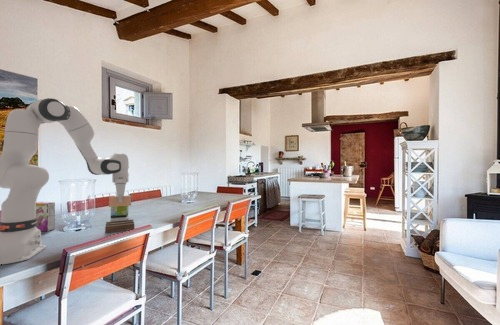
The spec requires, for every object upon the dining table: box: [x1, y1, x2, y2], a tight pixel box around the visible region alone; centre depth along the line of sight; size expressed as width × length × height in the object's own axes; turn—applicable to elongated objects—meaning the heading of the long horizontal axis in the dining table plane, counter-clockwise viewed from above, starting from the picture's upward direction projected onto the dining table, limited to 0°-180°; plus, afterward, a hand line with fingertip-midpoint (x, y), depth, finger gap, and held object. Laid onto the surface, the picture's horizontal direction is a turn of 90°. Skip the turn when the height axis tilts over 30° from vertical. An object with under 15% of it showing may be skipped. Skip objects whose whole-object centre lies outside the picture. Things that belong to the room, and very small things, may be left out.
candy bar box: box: [35, 201, 56, 232], centre depth 140 cm, size 11×5×16 cm, turn 84°
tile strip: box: [108, 195, 132, 208], centre depth 147 cm, size 2×12×6 cm, turn 119°
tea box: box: [109, 206, 129, 222], centre depth 165 cm, size 15×10×15 cm, turn 24°
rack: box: [104, 219, 135, 234], centre depth 145 cm, size 12×15×4 cm
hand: (120, 201), depth 147 cm, fingers closed on tile strip, 2 cm apart
